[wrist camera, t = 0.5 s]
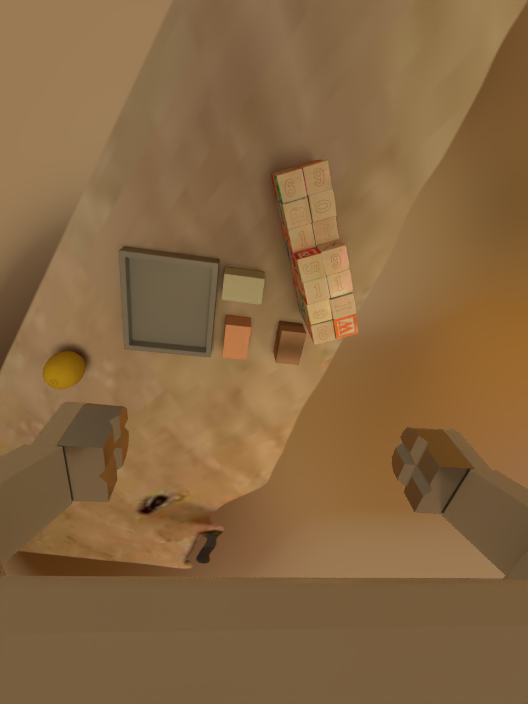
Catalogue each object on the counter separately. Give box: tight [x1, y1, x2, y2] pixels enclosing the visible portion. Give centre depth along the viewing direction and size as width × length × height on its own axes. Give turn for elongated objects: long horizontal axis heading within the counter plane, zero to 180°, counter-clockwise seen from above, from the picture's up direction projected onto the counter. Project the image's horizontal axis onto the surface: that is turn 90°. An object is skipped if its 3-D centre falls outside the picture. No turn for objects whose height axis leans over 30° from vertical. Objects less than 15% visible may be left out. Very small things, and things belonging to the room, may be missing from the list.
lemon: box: [43, 351, 85, 389], centre depth 53 cm, size 6×6×8 cm
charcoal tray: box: [119, 247, 219, 357], centre depth 52 cm, size 16×14×2 cm
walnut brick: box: [274, 321, 306, 365], centre depth 56 cm, size 6×4×4 cm, turn 171°
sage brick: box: [222, 267, 265, 305], centre depth 51 cm, size 4×6×4 cm, turn 81°
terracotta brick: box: [222, 315, 251, 360], centre depth 55 cm, size 6×4×4 cm, turn 171°
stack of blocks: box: [271, 160, 358, 345], centre depth 45 cm, size 21×6×12 cm, turn 15°
